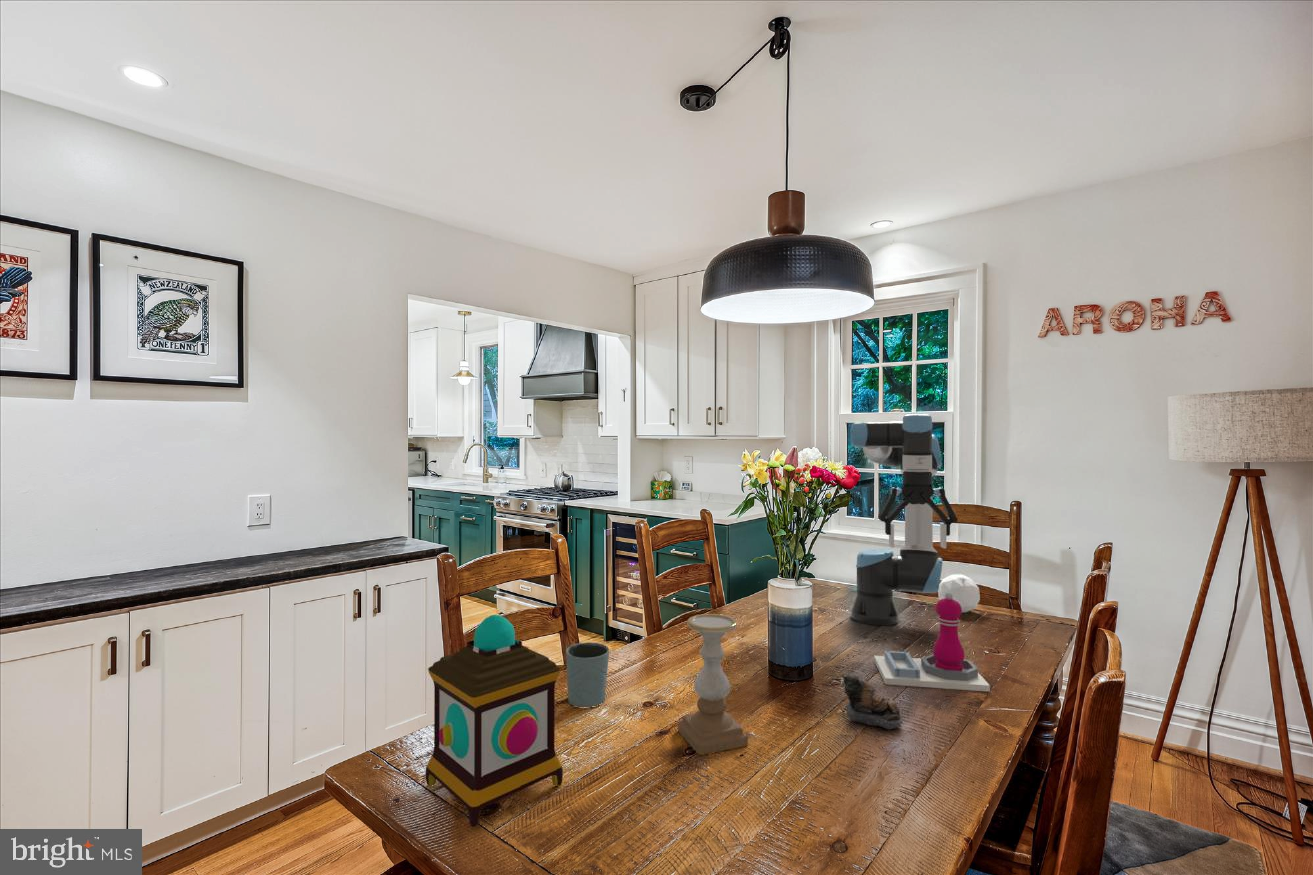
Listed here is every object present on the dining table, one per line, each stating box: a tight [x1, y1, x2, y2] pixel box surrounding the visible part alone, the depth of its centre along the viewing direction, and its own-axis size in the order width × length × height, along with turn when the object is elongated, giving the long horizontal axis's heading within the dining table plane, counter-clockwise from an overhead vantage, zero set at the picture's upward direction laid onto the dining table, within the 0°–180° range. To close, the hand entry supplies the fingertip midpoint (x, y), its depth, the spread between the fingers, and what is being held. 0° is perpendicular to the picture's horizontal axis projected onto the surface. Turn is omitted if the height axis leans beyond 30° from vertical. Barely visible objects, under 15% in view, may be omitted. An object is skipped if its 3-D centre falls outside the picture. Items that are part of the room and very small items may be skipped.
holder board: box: [873, 650, 991, 693], centre depth 155 cm, size 16×24×4 cm, turn 80°
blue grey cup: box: [565, 642, 610, 707], centre depth 139 cm, size 10×10×12 cm
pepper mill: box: [932, 593, 965, 671], centre depth 154 cm, size 7×7×20 cm
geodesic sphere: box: [937, 573, 981, 614], centre depth 213 cm, size 14×14×14 cm
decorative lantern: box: [425, 614, 564, 828], centre depth 105 cm, size 20×20×30 cm
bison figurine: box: [842, 673, 903, 730], centre depth 128 cm, size 12×7×10 cm, turn 70°
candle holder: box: [677, 613, 749, 756], centre depth 122 cm, size 11×11×24 cm
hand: (917, 547), depth 166 cm, fingers open, 13 cm apart
